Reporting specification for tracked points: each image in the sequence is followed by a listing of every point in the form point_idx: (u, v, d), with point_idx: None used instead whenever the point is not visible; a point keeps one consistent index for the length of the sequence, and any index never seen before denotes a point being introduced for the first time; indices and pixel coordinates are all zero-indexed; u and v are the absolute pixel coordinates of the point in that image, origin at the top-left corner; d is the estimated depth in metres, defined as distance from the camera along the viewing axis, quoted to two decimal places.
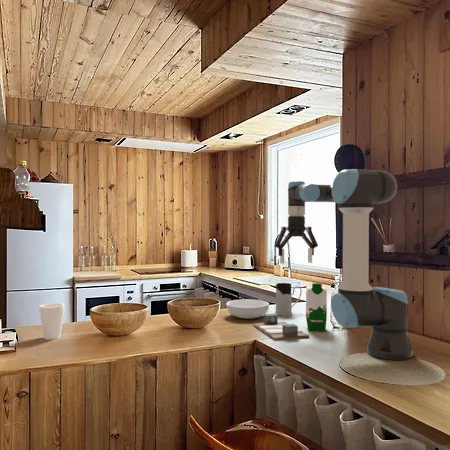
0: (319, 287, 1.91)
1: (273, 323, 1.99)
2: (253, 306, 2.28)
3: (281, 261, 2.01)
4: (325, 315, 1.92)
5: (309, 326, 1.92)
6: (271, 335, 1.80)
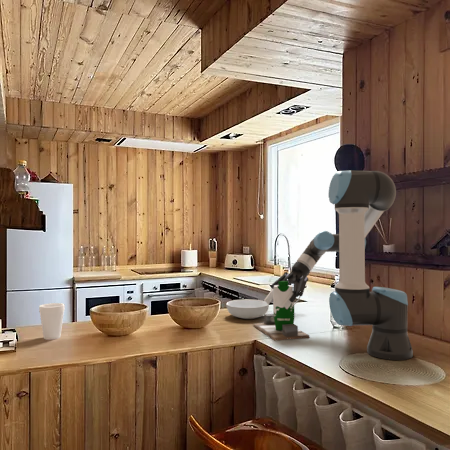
0: (285, 284, 1.86)
1: (273, 323, 1.99)
2: (253, 306, 2.28)
3: None
4: (292, 313, 1.86)
5: (276, 325, 1.86)
6: (271, 335, 1.80)
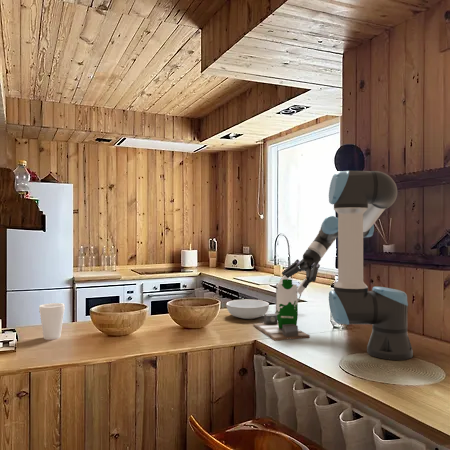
0: (289, 282, 1.88)
1: (273, 323, 1.99)
2: (253, 306, 2.28)
3: None
4: (296, 312, 1.87)
5: (279, 323, 1.86)
6: (271, 335, 1.80)
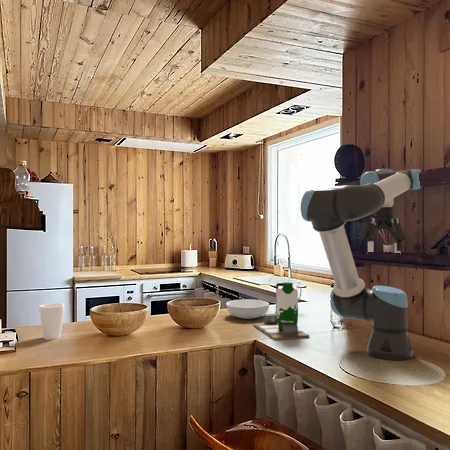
0: (290, 286, 1.84)
1: (273, 323, 1.99)
2: (253, 306, 2.28)
3: None
4: (296, 315, 1.85)
5: (279, 327, 1.85)
6: (271, 335, 1.80)
